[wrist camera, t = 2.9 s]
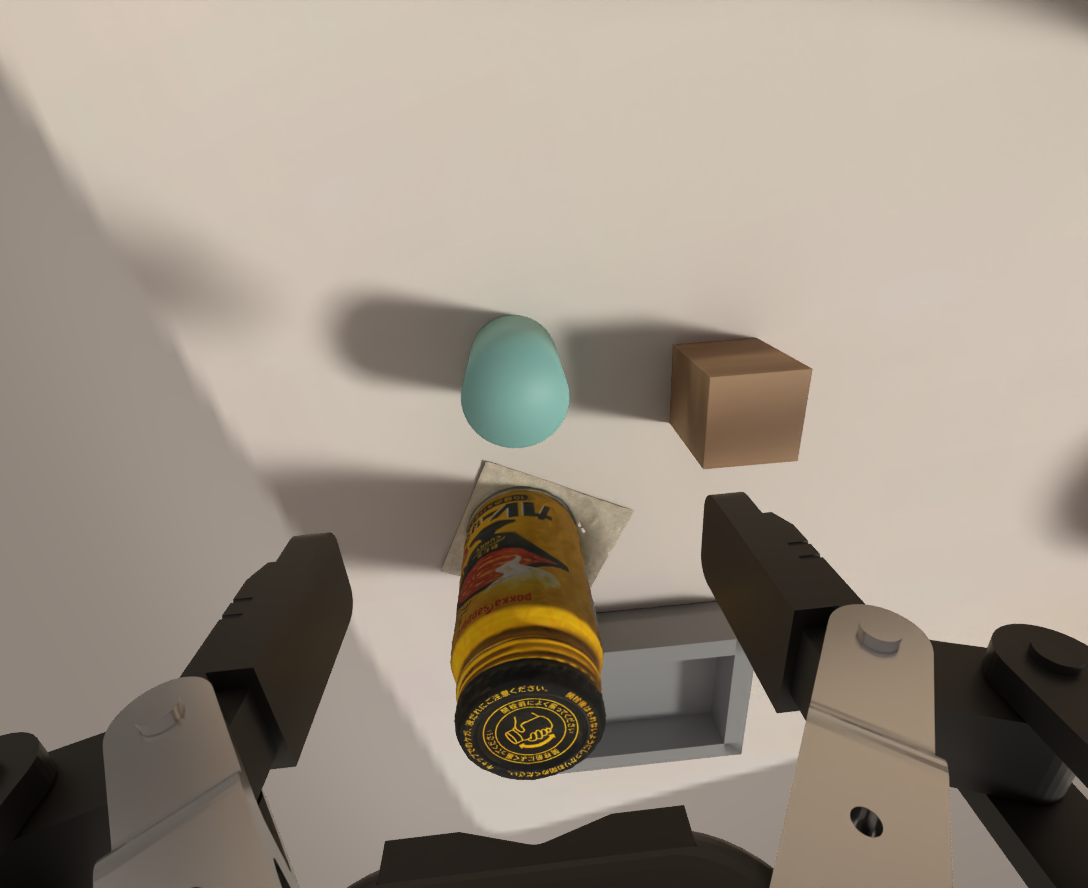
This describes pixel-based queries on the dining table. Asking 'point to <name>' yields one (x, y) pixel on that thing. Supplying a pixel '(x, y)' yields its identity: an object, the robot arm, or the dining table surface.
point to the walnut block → (738, 402)
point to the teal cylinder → (514, 383)
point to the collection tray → (670, 686)
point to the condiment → (529, 623)
